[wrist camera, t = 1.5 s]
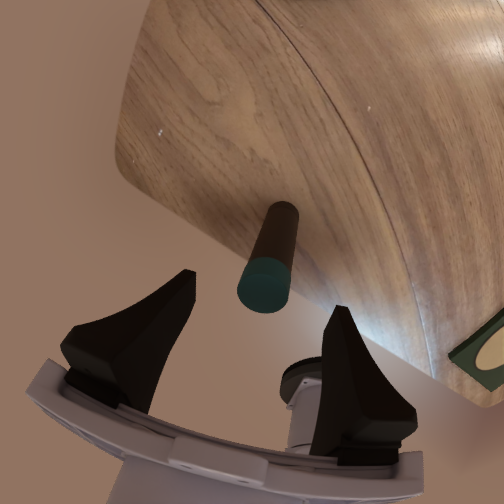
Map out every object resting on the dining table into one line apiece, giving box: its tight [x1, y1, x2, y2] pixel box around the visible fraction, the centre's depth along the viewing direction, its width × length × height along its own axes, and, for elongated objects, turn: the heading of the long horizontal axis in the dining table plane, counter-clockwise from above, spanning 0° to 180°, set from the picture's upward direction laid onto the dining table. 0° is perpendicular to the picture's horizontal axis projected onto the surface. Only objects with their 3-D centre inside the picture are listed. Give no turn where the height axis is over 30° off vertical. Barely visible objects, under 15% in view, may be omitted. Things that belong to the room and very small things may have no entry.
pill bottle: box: [237, 201, 299, 313], centre depth 19 cm, size 3×3×10 cm
